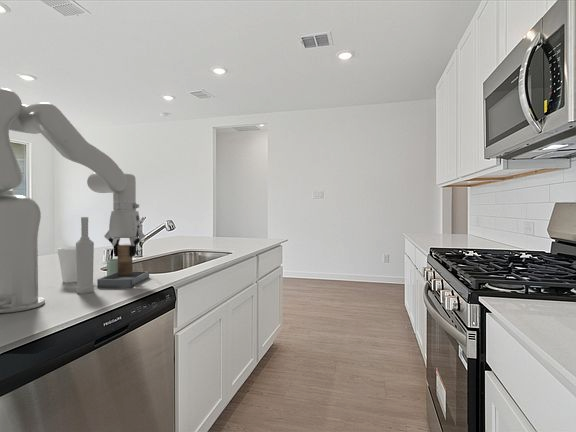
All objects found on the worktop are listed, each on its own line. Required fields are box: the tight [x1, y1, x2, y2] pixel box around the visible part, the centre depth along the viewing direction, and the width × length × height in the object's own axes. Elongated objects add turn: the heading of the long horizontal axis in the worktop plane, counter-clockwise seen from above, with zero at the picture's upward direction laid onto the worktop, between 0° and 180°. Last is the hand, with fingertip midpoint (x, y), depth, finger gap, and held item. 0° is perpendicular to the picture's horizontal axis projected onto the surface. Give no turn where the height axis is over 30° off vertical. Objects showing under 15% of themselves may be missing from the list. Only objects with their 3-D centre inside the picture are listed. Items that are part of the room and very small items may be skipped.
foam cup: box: [57, 245, 77, 283], centre depth 127 cm, size 10×9×13 cm
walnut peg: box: [117, 244, 134, 276], centre depth 126 cm, size 5×5×11 cm
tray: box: [96, 270, 150, 289], centre depth 126 cm, size 15×12×3 cm
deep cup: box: [106, 258, 118, 276], centre depth 139 cm, size 8×8×6 cm
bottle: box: [75, 216, 95, 295], centre depth 113 cm, size 5×5×25 cm
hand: (124, 255), depth 126 cm, fingers closed on walnut peg, 5 cm apart
